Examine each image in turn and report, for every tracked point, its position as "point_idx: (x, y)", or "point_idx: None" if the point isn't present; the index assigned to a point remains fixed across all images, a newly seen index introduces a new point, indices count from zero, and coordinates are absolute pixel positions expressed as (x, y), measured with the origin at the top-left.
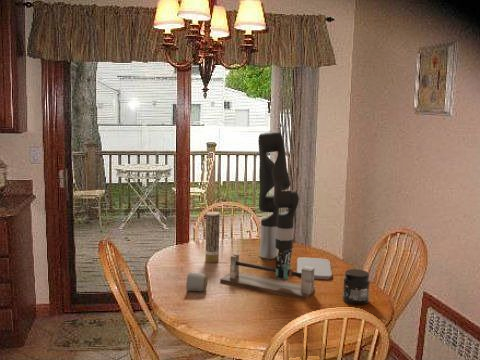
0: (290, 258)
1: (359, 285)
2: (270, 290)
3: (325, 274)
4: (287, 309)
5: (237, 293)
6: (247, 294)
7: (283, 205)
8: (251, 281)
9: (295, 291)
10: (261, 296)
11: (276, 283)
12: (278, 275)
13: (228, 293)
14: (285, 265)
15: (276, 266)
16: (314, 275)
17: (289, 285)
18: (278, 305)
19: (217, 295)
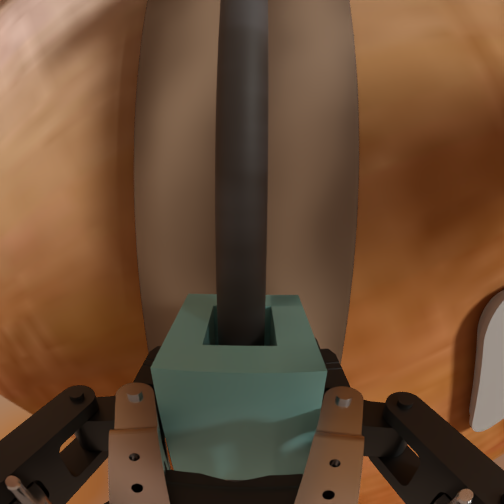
0: (412, 476)
1: None
2: (140, 254)
3: (487, 414)
4: (42, 384)
5: (50, 81)
6: (57, 134)
7: None
8: (216, 57)
9: None
10: (70, 223)
11: (278, 250)
12: (150, 353)
13: (38, 48)
14: (239, 456)
15: (50, 410)
16: (478, 387)
17: None
18: (42, 344)
19: (9, 34)
